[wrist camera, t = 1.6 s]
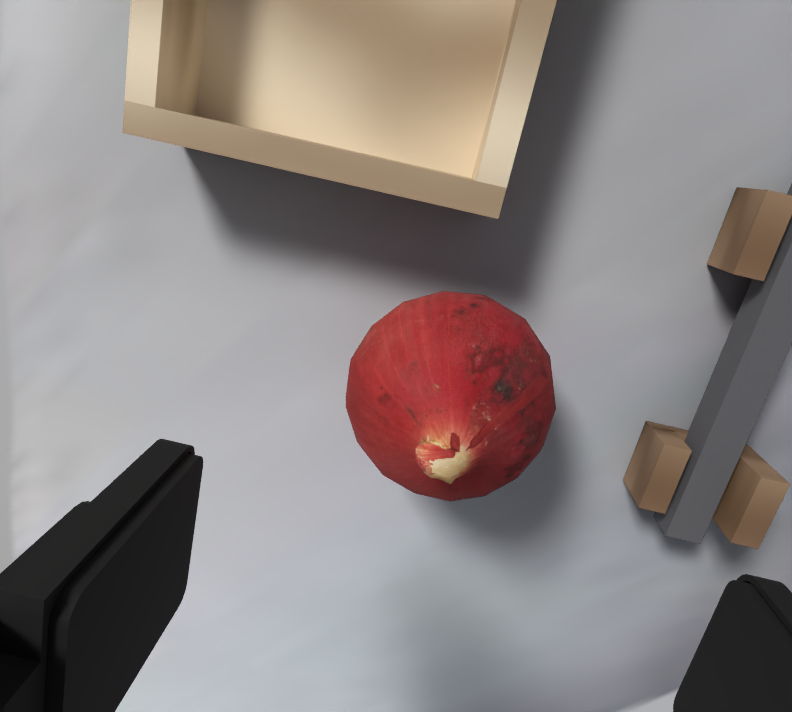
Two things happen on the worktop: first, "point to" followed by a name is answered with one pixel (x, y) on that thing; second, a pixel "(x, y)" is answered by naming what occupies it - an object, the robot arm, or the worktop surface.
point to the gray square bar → (734, 397)
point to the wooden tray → (344, 88)
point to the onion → (451, 395)
